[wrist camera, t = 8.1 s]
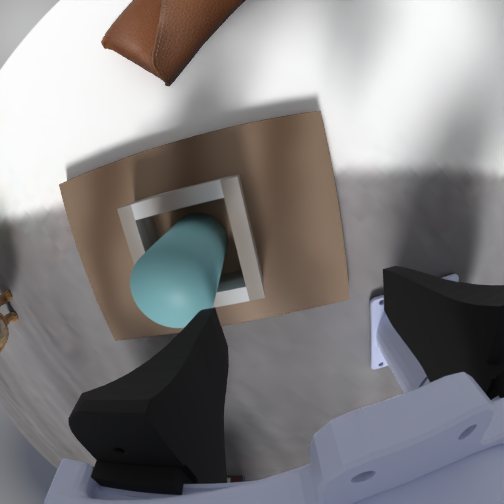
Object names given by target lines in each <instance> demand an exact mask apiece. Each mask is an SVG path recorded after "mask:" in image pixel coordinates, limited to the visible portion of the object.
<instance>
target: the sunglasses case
mask: <svg viewBox="0 0 504 504" xmlns="http://www.w3.org/2000/svg"><path fill="white" fill-rule="evenodd" d="M244 1H245V0H133V1H132V2H131V3H130V4H129V5H128V7H127V8H126V9H125V10H124V11H123V12H122V14H121V15H120V16H119V17H118V18H117V19H116V21H115V22H114V23H113V24H112V26H111V27H110V28H109V30H108V31H107V32H106V34H105V36H104V37H103V39H102V41H101V43H102V45H103V47H104V48H105V49H111V50H113V51H115V52H117V53H119V54H120V55H122V56H123V57H125V58H127V59H128V60H130V61H132V62H134V63H135V64H137V65H139V66H141V67H142V68H144V69H145V70H147V71H148V72H150V73H153V74H154V75H155V76H156V77H159V78H160V79H161V80H163V81H164V82H165V83H166V84H165V85H166V86H170V85H171V84H172V83H173V82H174V81H175V79H176V78H177V77H178V76H179V75H180V73H181V72H182V71H183V69H184V68H185V67H186V66H187V64H188V63H189V62H190V61H191V59H192V58H193V57H194V56H195V54H196V53H197V52H198V51H199V49H200V48H201V47H202V45H203V44H204V43H205V42H206V41H207V40H208V39H209V38H210V37H211V35H212V34H213V33H214V32H215V31H216V30H217V29H218V28H219V27H220V26H221V25H222V23H223V22H224V21H225V20H226V19H227V18H228V17H229V16H230V15H231V14H232V13H233V12H234V11H235V10H236V9H237V8H238V7H239V6H240V5H241V4H242V3H243V2H244Z"/></svg>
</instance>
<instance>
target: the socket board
mask: <svg viewBox="0 0 504 504" xmlns="http://www.w3.org/2000/svg"><path fill="white" fill-rule="evenodd" d="M59 186H60V190H61V194H62V198H63V202H64V206H65V210H66V213H67V217H68V220H69V224H70V227H71V230H72V233H73V237H74V240H75V243H76V246H77V249H78V252H79V255H80V258H81V260H82V263H83V266H84V269H85V271H86V274H87V277H88V279H89V282H90V284H91V287H92V290H93V292H94V294H95V297H96V299H97V302H98V304H99V306H100V309H101V311H102V313H103V316H104V318H105V320H106V322H107V324H108V327H109V329H110V331H111V333H112V335H113V337H114V339H115V341H117V340H126V339H135V338H143V337H151V336H159V335H166V334H173V333H180V332H181V331H182V330H183V329H184V328H171V327H166V326H163V325H160V324H158V323H156V322H154V321H152V320H151V319H150V318H148V317H147V316H146V315H145V314H144V313H143V312H142V311H141V310H140V309H139V307H138V306H137V304H136V303H135V301H134V298H133V296H132V293H131V288H130V277H131V273H132V269H133V267H134V265H135V264H136V262H137V261H138V260H139V258H140V257H141V256H142V255H143V254H144V253H145V252H146V251H147V250H148V249H149V248H150V247H152V246H153V245H154V244H155V243H156V242H157V241H158V240H159V239H160V238H161V237H162V236H163V235H164V234H165V233H166V232H167V231H168V230H169V229H170V228H171V227H173V226H174V225H175V224H176V223H177V222H178V221H179V220H180V219H181V218H183V217H184V216H186V215H188V214H192V213H205V214H208V215H211V216H213V217H214V218H216V219H217V220H218V221H219V222H220V223H221V224H222V225H223V227H224V229H225V231H226V234H227V239H228V244H227V250H226V254H225V258H224V262H223V267H222V271H221V275H220V279H219V284H218V288H217V293H216V297H215V301H214V305H213V307H212V308H214V307H215V309H216V312H217V315H218V318H219V321H220V324H221V326H224V325H230V324H235V323H241V322H246V321H251V320H257V319H262V318H267V317H272V316H277V315H282V314H286V313H291V312H296V311H300V310H305V309H310V308H314V307H318V306H323V305H327V304H331V303H335V302H340V301H344V300H348V299H350V296H349V285H348V274H347V265H346V256H345V247H344V239H343V232H342V224H341V217H340V211H339V204H338V198H337V192H336V186H335V180H334V174H333V169H332V164H331V158H330V153H329V148H328V143H327V138H326V134H325V129H324V125H323V120H322V116H321V111H315V112H308V113H301V114H295V115H289V116H283V117H277V118H272V119H266V120H261V121H256V122H251V123H247V124H242V125H238V126H233V127H229V128H225V129H220V130H216V131H212V132H208V133H205V134H201V135H197V136H193V137H190V138H186V139H183V140H179V141H176V142H172V143H169V144H166V145H163V146H159V147H156V148H153V149H150V150H147V151H144V152H141V153H138V154H135V155H132V156H129V157H126V158H124V159H121V160H118V161H115V162H113V163H110V164H107V165H105V166H102V167H100V168H97V169H95V170H92V171H90V172H87V173H85V174H82V175H80V176H78V177H75V178H73V179H71V180H68V181H66V182H64V183H62V184H59Z"/></svg>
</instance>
